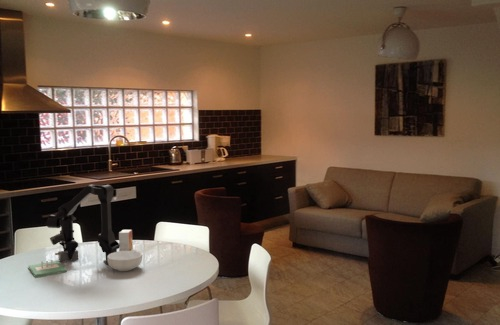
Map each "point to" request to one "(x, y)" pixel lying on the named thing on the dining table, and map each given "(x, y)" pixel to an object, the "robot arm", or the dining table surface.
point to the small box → (125, 240)
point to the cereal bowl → (124, 260)
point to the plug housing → (66, 256)
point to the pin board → (47, 268)
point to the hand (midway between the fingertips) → (68, 257)
